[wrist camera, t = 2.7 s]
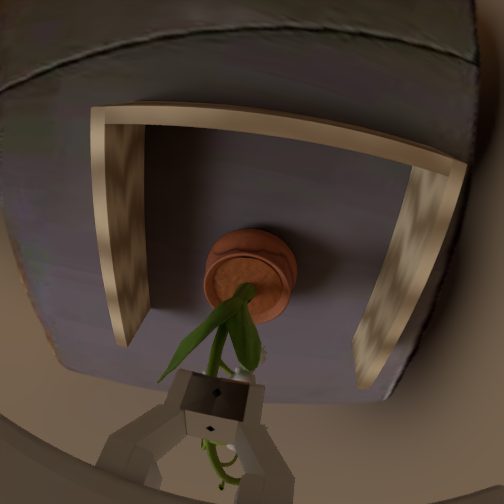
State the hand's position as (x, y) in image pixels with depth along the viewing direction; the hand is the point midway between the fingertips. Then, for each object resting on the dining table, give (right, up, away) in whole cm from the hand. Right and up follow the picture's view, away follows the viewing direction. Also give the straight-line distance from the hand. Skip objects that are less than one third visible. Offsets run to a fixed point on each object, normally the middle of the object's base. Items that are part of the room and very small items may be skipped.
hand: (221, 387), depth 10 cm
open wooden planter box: (+2, +6, +24) cm, 25 cm away
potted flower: (+2, +3, +26) cm, 26 cm away
